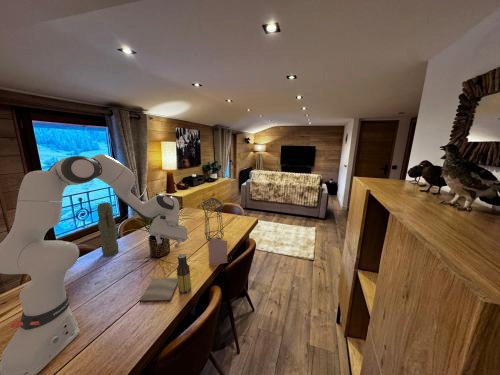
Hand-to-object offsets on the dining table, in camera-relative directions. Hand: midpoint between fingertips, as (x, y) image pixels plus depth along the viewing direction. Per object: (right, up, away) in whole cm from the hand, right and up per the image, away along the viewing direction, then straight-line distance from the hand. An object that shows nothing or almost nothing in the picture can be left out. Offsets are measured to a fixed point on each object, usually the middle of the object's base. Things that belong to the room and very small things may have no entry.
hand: (168, 245), depth 100 cm
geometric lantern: (+13, -12, +52) cm, 55 cm away
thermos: (-52, -15, +31) cm, 62 cm away
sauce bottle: (+8, -23, 0) cm, 25 cm away
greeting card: (+21, -18, +23) cm, 36 cm away
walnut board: (-4, -23, 0) cm, 23 cm away
